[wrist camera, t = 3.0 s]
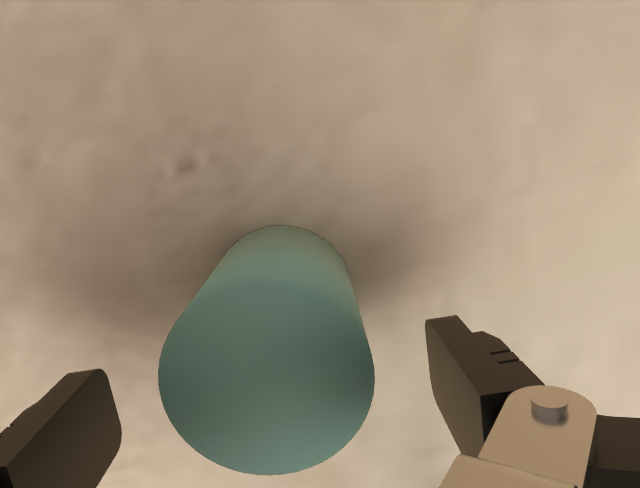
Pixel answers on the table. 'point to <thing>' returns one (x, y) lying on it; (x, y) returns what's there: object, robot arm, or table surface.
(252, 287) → the cylinder
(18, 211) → the table surface
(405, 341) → the table surface
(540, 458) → the robot arm
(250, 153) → the table surface
